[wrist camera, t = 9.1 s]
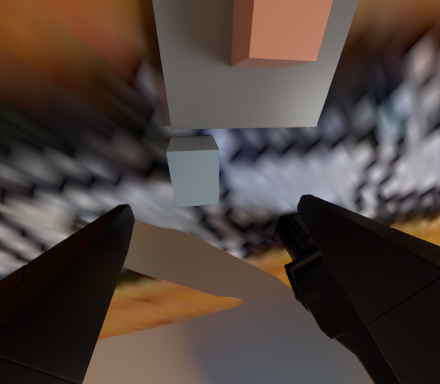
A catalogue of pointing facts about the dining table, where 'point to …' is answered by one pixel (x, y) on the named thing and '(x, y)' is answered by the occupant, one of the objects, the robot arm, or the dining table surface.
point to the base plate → (239, 70)
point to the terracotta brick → (277, 32)
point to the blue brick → (194, 170)
